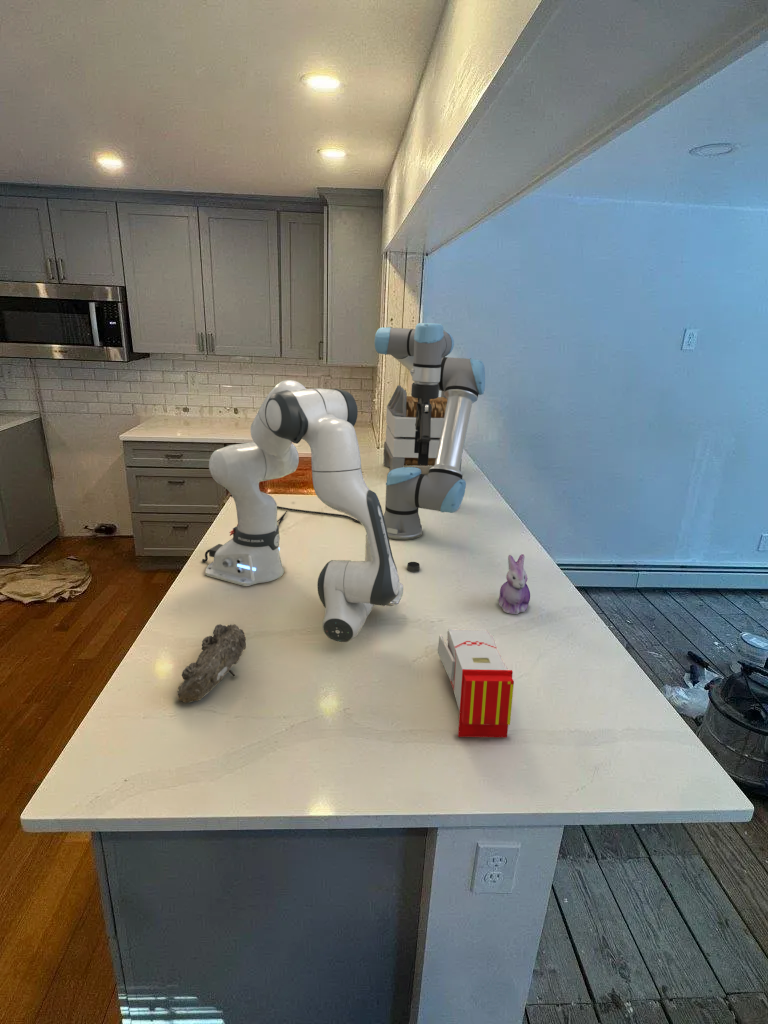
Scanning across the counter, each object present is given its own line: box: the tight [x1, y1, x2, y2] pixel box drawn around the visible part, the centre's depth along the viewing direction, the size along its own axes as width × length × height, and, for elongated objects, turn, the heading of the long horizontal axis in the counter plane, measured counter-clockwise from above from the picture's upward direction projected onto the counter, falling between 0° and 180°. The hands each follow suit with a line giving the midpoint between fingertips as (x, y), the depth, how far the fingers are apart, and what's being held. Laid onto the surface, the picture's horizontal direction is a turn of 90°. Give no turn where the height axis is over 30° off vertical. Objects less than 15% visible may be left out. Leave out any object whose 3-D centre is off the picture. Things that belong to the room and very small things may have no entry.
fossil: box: [176, 623, 247, 704], centre depth 119 cm, size 22×10×15 cm
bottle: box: [364, 533, 373, 561], centre depth 156 cm, size 5×5×22 cm
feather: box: [277, 510, 288, 528], centre depth 213 cm, size 2×28×2 cm
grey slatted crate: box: [383, 384, 463, 473], centre depth 268 cm, size 34×33×41 cm
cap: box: [406, 561, 421, 573], centre depth 173 cm, size 4×4×2 cm
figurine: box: [498, 553, 531, 615], centre depth 151 cm, size 9×10×15 cm
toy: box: [437, 628, 515, 738], centre depth 117 cm, size 12×13×30 cm
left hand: (371, 575), depth 154 cm, fingers open, 8 cm apart
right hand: (420, 458), depth 161 cm, fingers open, 13 cm apart
